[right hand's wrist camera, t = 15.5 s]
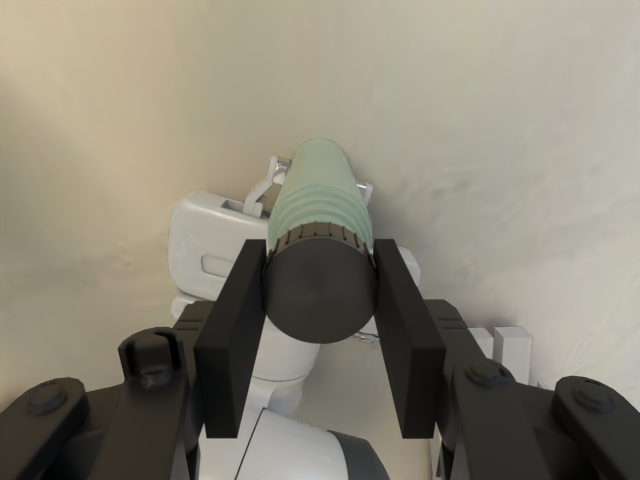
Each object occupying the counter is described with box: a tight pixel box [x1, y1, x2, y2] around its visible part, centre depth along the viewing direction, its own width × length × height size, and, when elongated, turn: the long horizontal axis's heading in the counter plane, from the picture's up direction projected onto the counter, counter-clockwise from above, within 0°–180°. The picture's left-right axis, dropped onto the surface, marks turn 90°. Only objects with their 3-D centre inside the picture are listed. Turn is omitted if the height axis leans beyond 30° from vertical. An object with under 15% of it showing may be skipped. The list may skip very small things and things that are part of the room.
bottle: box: [268, 138, 372, 251], centre depth 24 cm, size 5×5×23 cm
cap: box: [261, 221, 379, 344], centre depth 14 cm, size 4×4×2 cm
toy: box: [429, 326, 550, 480], centre depth 41 cm, size 12×13×30 cm
